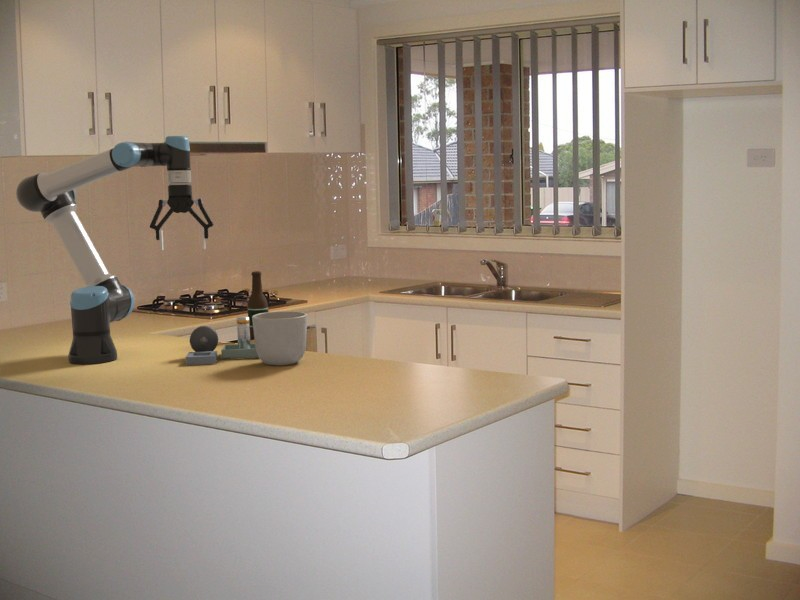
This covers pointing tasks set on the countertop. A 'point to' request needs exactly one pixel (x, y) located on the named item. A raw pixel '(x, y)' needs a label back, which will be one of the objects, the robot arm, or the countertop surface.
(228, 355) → the tray
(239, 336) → the pin
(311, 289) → the countertop surface
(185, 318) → the countertop surface
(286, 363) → the planter
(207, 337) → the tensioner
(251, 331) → the beer bottle
